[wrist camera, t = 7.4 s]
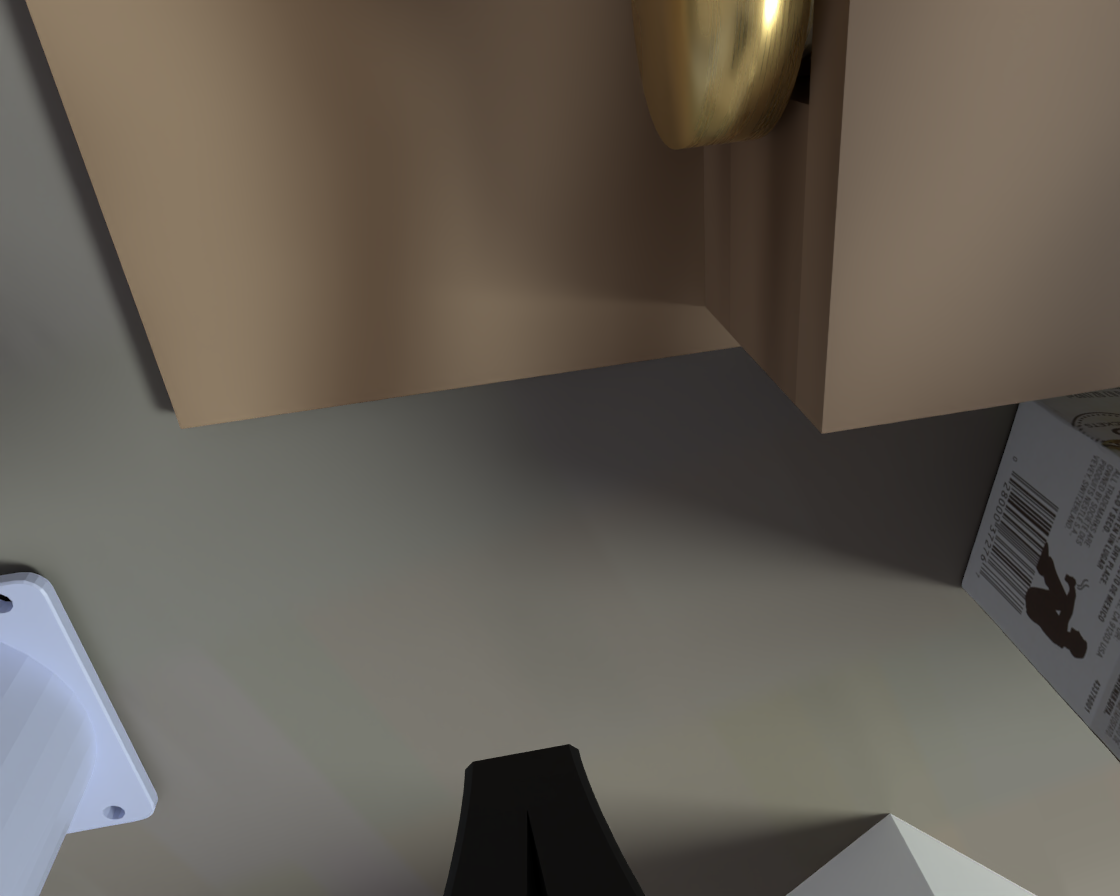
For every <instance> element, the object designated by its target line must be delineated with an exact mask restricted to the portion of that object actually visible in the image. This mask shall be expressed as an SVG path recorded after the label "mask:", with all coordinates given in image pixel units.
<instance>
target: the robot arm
mask: <svg viewBox="0 0 1120 896" xmlns="http://www.w3.org/2000/svg"><path fill="white" fill-rule="evenodd" d="M0 594H2V595H4V596H7V597H8V598H9V599H10V600H11V601H12V602H6V601H3V600H1V599H0V896H39V895H40V892H41V890H42V888H43V886H44V883H45V881H46V879H47V876H48V874H49V872H50V870H51V867H52V865H53V863H54V860H55V858H56V856H57V853H58V851H59V849H60V847H61V844H62V842H63V840H64V837H65V835H66V834H67V833H73V832H78V831H84V830H89V829H95V828H100V827H106V826H111V825H117V824H122V823H128V822H133V821H139V820H142V819H145V818H148V817H149V816H150V815H152V814H153V812H154V810H155V807H156V804H157V801H158V797H157V793H156V791H155V789H154V787H153V785H152V783H151V781H150V779H149V777H148V775H147V773H146V771H145V769H144V767H143V765H142V763H141V761H140V759H139V757H138V755H137V753H136V751H135V749H134V747H133V745H132V743H131V741H130V739H129V737H128V735H127V733H126V731H125V729H124V727H123V725H122V723H121V721H120V719H119V717H118V715H117V713H116V711H115V709H114V707H113V705H112V703H111V701H110V699H109V697H108V695H107V693H106V691H105V689H104V687H103V685H102V683H101V681H100V679H99V677H98V675H97V673H96V671H95V669H94V667H93V665H92V663H91V661H90V659H89V657H88V655H87V653H86V651H85V649H84V647H83V645H82V643H81V641H80V639H79V637H78V635H77V633H76V631H75V629H74V627H73V625H72V623H71V621H70V619H69V618H68V616H67V614H66V612H65V610H64V608H63V606H62V604H61V602H60V600H59V598H58V596H57V594H56V592H55V590H54V588H53V586H52V585H51V583H50V582H49V581H48V580H47V579H46V578H44V577H42V576H41V575H38V574H35V573H31V572H19V573H13V574H6V575H0ZM117 806H118V807H117ZM443 896H645V894H644V893H643V891H642V889H641V887H640V885H639V884H638V882H637V880H636V878H635V877H634V875H633V873H632V871H631V869H630V868H629V866H628V864H627V862H626V860H625V858H624V856H623V854H622V853H621V851H620V849H619V847H618V845H617V843H616V841H615V839H614V837H613V835H612V833H611V831H610V828H609V826H608V824H607V822H606V820H605V818H604V816H603V814H602V812H601V809H600V807H599V805H598V803H597V800H596V798H595V796H594V793H593V791H592V788H591V786H590V783H589V781H588V778H587V775H586V772H585V770H584V767H583V764H582V761H581V757H580V753H579V750H578V749H577V748H575V747H573V746H571V745H570V744H568V745H562V746H557V747H551V748H546V749H540V750H535V751H529V752H524V753H518V754H513V755H507V756H502V757H496V758H491V759H485V760H480V761H474V762H472V763H471V764H470V765H469V766H468V767H467V768H466V769H465V780H464V792H463V800H462V807H461V814H460V820H459V826H458V832H457V837H456V842H455V847H454V852H453V857H452V861H451V866H450V871H449V875H448V880H447V883H446V887H445V891H444V895H443Z"/></svg>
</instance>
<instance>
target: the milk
mask: <svg viewBox="0 0 1120 896" xmlns="http://www.w3.org/2000/svg"><path fill="white" fill-rule="evenodd" d="M786 896H1036V895H1035V894H1033V893H1031V892H1029V891H1028V890H1026V889H1024V888H1022V887H1020V886H1019V885H1017V884H1015V883H1013V882H1012V881H1010V880H1008V879H1006V878H1004V877H1003V876H1001V875H999V874H997V873H995V872H994V871H992V870H990V869H988V868H987V867H985V866H983V865H981V864H979V863H978V862H976V861H974V860H972V859H971V858H969V857H967V856H965V855H963V854H962V853H960V852H958V851H956V850H954V849H953V848H951V847H949V846H947V845H946V844H944V843H942V842H940V841H938V840H937V839H935V838H933V837H931V836H930V835H928V834H926V833H924V832H922V831H921V830H919V829H917V828H915V827H914V826H912V825H910V824H908V823H906V822H905V821H903V820H901V819H899V818H897V817H896V816H894V815H892V814H888V815H887V816H886V817H885V818H883V819H882V820H881V821H880V822H878V823H877V824H876V825H875V826H873V827H872V828H871V829H870V830H868V831H867V832H866V833H864V834H863V835H862V836H861V837H859V838H858V839H857V840H856V841H854V842H853V843H852V844H851V845H849V846H848V847H847V848H845V849H844V850H843V851H842V852H840V853H839V854H838V855H837V856H835V857H834V858H833V859H832V860H830V861H829V862H828V863H826V864H825V865H824V866H823V867H821V868H820V869H819V870H818V871H816V872H815V873H814V874H813V875H811V876H810V877H809V878H807V879H806V880H805V881H804V882H802V883H801V884H800V885H799V886H797V887H796V888H795V889H794V890H792V891H791V892H790V893H789V894H787V895H786Z"/></svg>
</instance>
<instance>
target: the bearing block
mask: <svg viewBox="0 0 1120 896" xmlns="http://www.w3.org/2000/svg"><path fill="white" fill-rule="evenodd" d="M26 3H27V6H28V9H29V12H30V14H31V17H32V20H33V23H34V25H35V28H36V31H37V34H38V36H39V39H40V42H41V45H42V47H43V50H44V53H45V56H46V58H47V61H48V64H49V67H50V69H51V72H52V75H53V78H54V80H55V83H56V86H57V89H58V91H59V94H60V97H61V100H62V102H63V105H64V108H65V111H66V113H67V116H68V119H69V122H70V125H71V127H72V130H73V133H74V136H75V138H76V141H77V144H78V147H79V149H80V152H81V155H82V158H83V160H84V163H85V166H86V169H87V171H88V174H89V177H90V180H91V182H92V185H93V188H94V191H95V193H96V196H97V199H98V202H99V204H100V207H101V210H102V213H103V215H104V218H105V221H106V224H107V226H108V229H109V232H110V235H111V237H112V240H113V243H114V246H115V249H116V251H117V254H118V257H119V260H120V262H121V265H122V268H123V271H124V273H125V276H126V279H127V282H128V284H129V287H130V290H131V293H132V295H133V298H134V301H135V304H136V306H137V309H138V312H139V315H140V317H141V320H142V323H143V326H144V328H145V331H146V334H147V337H148V339H149V342H150V345H151V348H152V350H153V353H154V356H155V359H156V362H157V364H158V367H159V370H160V373H161V375H162V378H163V381H164V384H165V386H166V389H167V392H168V395H169V397H170V400H171V403H172V406H173V408H174V411H175V414H176V417H177V419H178V422H179V425H180V428H181V429H185V428H191V427H198V426H205V425H212V424H219V423H225V422H232V421H239V420H246V419H252V418H259V417H266V416H273V415H280V414H286V413H293V412H300V411H307V410H313V409H320V408H327V407H334V406H341V405H347V404H354V403H361V402H368V401H375V400H381V399H388V398H395V397H402V396H408V395H415V394H422V393H429V392H436V391H442V390H449V389H456V388H463V387H470V386H476V385H483V384H490V383H497V382H503V381H510V380H517V379H524V378H531V377H537V376H544V375H551V374H558V373H565V372H571V371H578V370H585V369H592V368H598V367H605V366H612V365H619V364H626V363H632V362H639V361H646V360H653V359H659V358H666V357H673V356H680V355H687V354H693V353H700V352H707V351H714V350H721V349H727V348H734V347H741V346H742V347H743V348H744V350H745V351H746V352H747V353H748V354H749V355H750V356H751V357H752V358H753V359H754V360H755V362H756V363H757V364H758V365H759V366H760V367H761V368H762V369H763V370H764V371H765V372H766V374H767V375H768V376H769V377H770V378H771V379H772V380H773V381H774V382H775V383H776V384H777V386H778V387H779V388H780V389H781V390H782V391H783V392H784V393H785V394H786V395H787V396H788V398H789V399H790V400H791V401H792V402H793V403H794V404H795V405H796V406H797V407H798V408H799V410H800V411H801V412H802V413H803V414H804V415H805V416H806V417H807V418H808V419H809V420H810V421H811V423H812V424H813V425H814V426H815V427H816V428H817V429H818V430H819V431H820V432H821V433H822V434H824V433H831V432H837V431H843V430H850V429H856V428H862V427H869V426H875V425H882V424H888V423H894V422H901V421H907V420H913V419H920V418H926V417H932V416H939V415H945V414H952V413H958V412H964V411H971V410H977V409H983V408H990V407H996V406H1003V405H1009V404H1015V403H1022V402H1028V401H1034V400H1041V399H1047V398H1054V397H1060V396H1066V395H1073V394H1079V393H1085V392H1092V391H1098V390H1105V389H1111V388H1117V387H1120V0H814V11H813V32H812V54H811V59H805V60H801V63H800V68H799V71H798V74H797V78H796V81H795V85H794V88H793V90H792V93H791V96H790V98H789V101H788V104H787V106H786V108H785V110H784V112H783V114H782V116H781V118H780V119H779V121H778V122H777V124H776V125H775V127H774V128H773V129H772V130H771V131H770V132H769V133H768V134H767V135H765V136H763V137H762V138H760V139H755V140H747V141H739V142H732V143H724V144H716V145H708V146H700V147H692V148H685V149H677V150H674V149H671V148H669V147H668V146H667V145H665V144H664V142H663V141H662V139H661V138H660V136H659V134H658V132H657V131H656V129H655V126H654V124H653V121H652V119H651V115H650V112H649V109H648V106H647V102H646V98H645V94H644V90H643V86H642V81H641V76H640V70H639V65H638V59H637V52H636V45H635V36H634V28H633V17H632V6H631V0H26Z"/></svg>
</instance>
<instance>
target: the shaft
mask: <svg viewBox="0 0 1120 896" xmlns="http://www.w3.org/2000/svg"><path fill="white" fill-rule="evenodd" d="M631 6H632V17H633V28H634V36H635V45H636V52H637V59H638V65H639V70H640V76H641V81H642V86H643V90H644V94H645V98H646V102H647V106H648V109H649V112H650V115H651V119H652V121H653V124H654V126H655V129H656V131H657V132H658V134H659V136H660V138H661V139H662V141H663V142H664V144H665V145H667V146H668V147H669V148H671V149H674V150H677V149H685V148H692V147H700V146H708V145H716V144H724V143H732V142H739V141H747V140H755V139H760V138H762V137H763V136H765V135H767V134H768V133H769V132H770V131H771V130H772V129H773V128H774V127H775V125H776V124H777V122H778V121H779V119H780V118H781V116H782V114H783V112H784V110H785V108H786V106H787V104H788V101H789V98H790V96H791V93H792V90H793V88H794V85H795V81H796V78H797V74H798V71H799V68H800V63H801V60H805V59H811V54H812V32H813V11H814V0H631Z"/></svg>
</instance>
